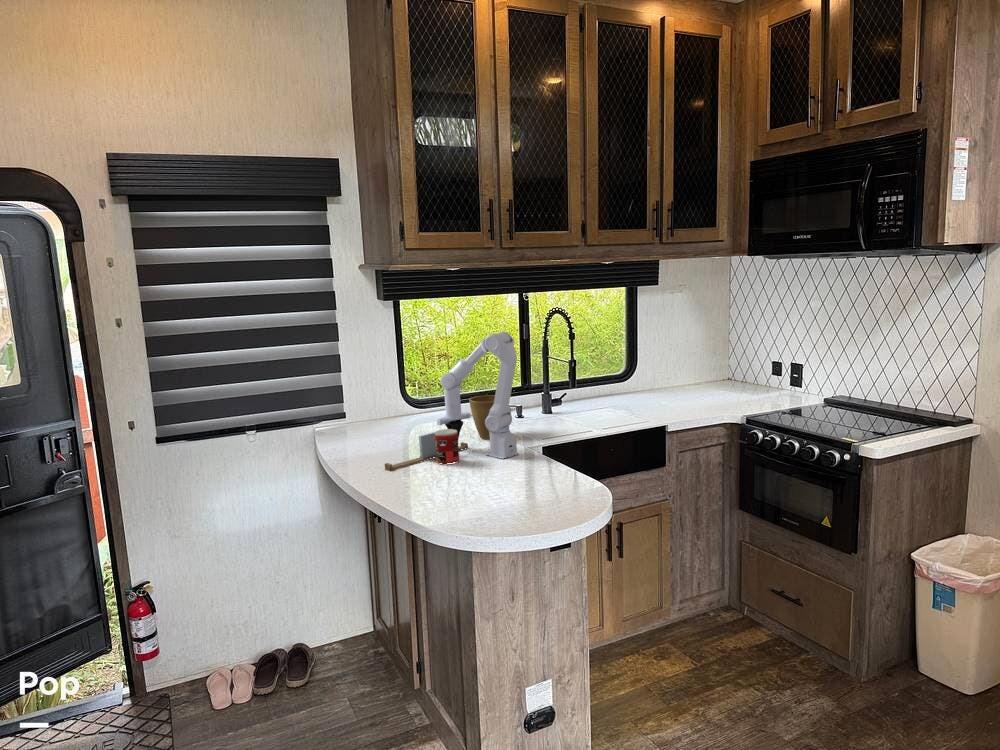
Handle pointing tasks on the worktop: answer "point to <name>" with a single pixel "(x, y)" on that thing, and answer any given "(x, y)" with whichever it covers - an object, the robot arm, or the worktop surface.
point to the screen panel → (427, 445)
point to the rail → (416, 460)
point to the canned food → (447, 446)
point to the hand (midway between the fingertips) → (455, 440)
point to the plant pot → (481, 413)
